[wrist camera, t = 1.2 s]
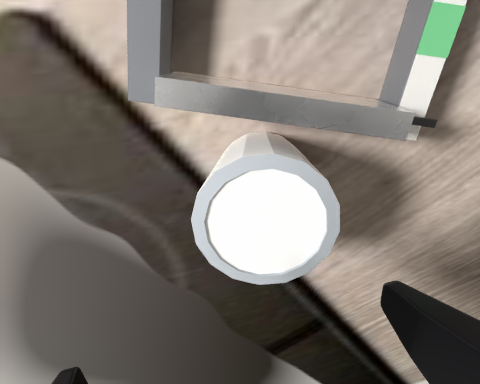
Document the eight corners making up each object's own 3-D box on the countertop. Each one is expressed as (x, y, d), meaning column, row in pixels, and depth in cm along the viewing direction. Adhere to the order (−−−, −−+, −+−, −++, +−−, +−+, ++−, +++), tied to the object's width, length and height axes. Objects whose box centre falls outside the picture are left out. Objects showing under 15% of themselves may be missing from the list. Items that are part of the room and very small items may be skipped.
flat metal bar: (419, 105, 17) (470, 120, 13) (411, 126, 18) (459, 148, 14) (177, 71, 17) (155, 76, 13) (176, 94, 17) (154, 106, 13)
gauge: (460, -61, 15) (548, -109, 11) (396, 130, 19) (442, 153, 15) (144, -109, 15) (98, -181, 10) (143, 94, 19) (108, 107, 14)
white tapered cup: (333, 151, 20) (373, 197, 14) (280, 234, 23) (292, 305, 16) (237, 101, 19) (230, 125, 13) (192, 193, 21) (168, 253, 15)
